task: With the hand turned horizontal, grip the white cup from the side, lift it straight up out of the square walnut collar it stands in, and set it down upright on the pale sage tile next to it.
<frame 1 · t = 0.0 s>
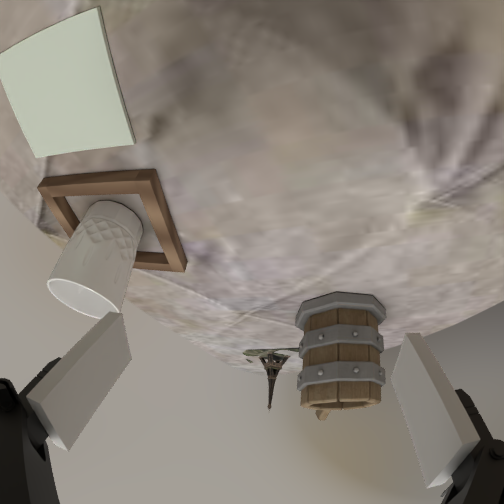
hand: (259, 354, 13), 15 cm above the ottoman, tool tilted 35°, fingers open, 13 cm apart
white cup: (116, 219, 31), resting in walnut collar
walnut collar: (115, 221, 31), on the ottoman
sage tile: (58, 92, 18), on the ottoman
eiffel tower figurine: (274, 352, 63), on the ottoman
tankard: (333, 321, 46), on the ottoman
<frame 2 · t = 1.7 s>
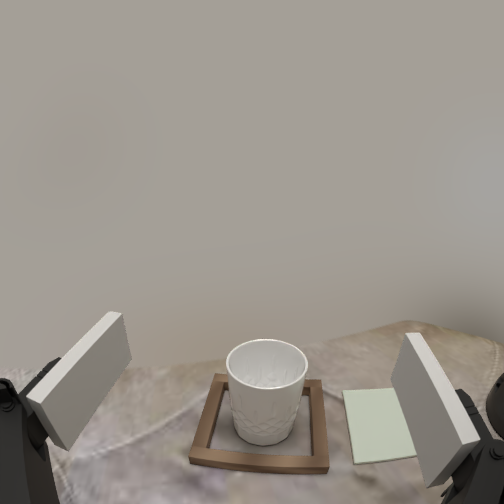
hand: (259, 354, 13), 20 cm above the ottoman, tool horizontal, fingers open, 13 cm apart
white cup: (263, 425, 31), resting in walnut collar
walnut collar: (263, 424, 31), on the ottoman
sage tile: (393, 421, 29), on the ottoman
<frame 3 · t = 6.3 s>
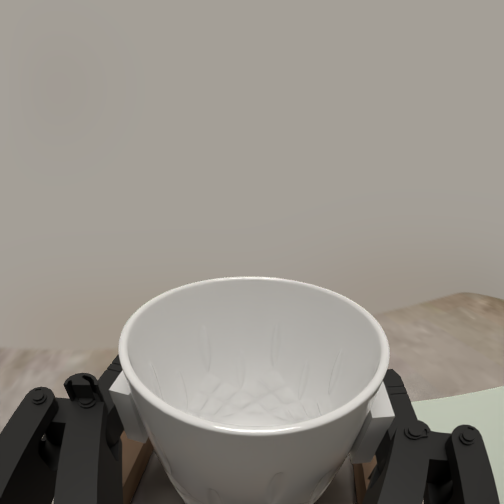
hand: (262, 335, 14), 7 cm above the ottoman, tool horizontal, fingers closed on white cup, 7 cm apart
white cup: (249, 487, 12), resting in walnut collar, touching gripper
walnut collar: (248, 485, 12), on the ottoman
sage tile: (502, 451, 10), on the ottoman
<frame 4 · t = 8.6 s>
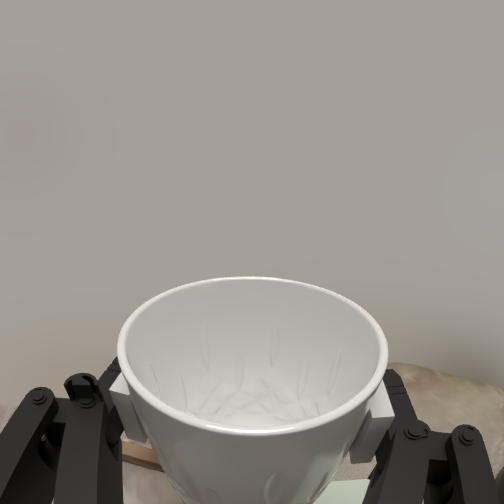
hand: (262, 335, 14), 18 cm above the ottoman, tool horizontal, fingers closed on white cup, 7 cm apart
white cup: (248, 487, 12), point 11 cm above the ottoman, touching gripper
when the fingers open (8 cm above the ottoman, at t = 11.3 s): white cup drops 2 cm, resting on sage tile.
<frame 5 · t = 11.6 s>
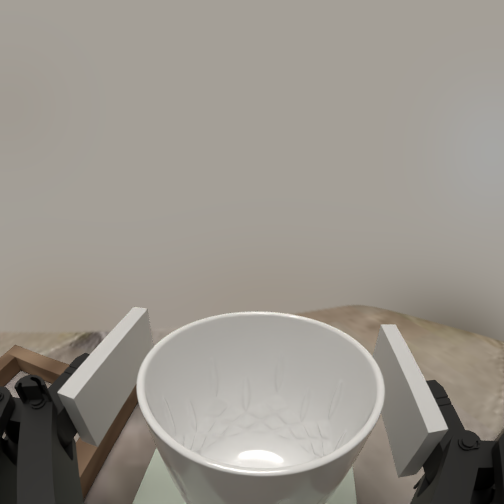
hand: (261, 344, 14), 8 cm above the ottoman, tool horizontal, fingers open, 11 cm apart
white cup: (254, 499, 12), resting on sage tile
walnut collar: (26, 429, 14), on the ottoman
sage tile: (247, 499, 12), on the ottoman
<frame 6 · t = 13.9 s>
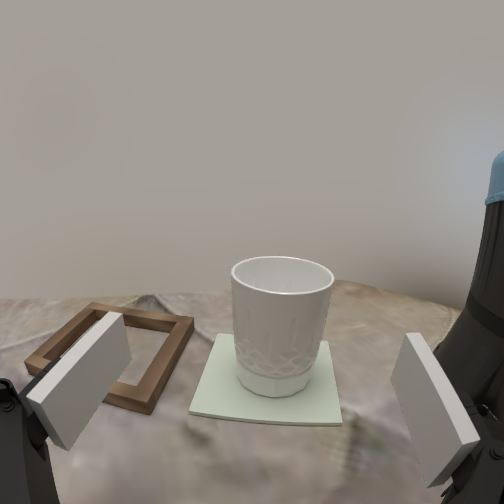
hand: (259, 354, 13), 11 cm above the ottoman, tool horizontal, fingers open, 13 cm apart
white cup: (273, 375, 26), resting on sage tile
walnut collar: (113, 352, 28), on the ottoman
sage tile: (269, 376, 26), on the ottoman
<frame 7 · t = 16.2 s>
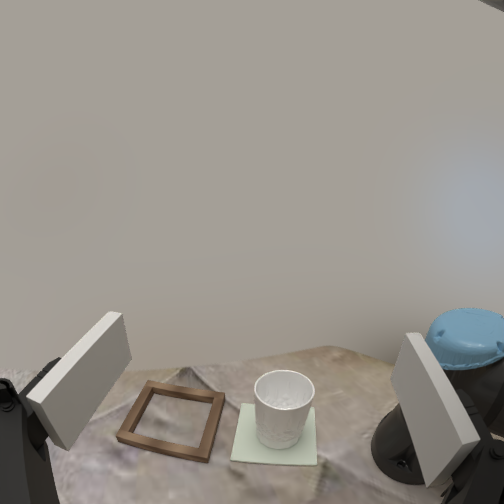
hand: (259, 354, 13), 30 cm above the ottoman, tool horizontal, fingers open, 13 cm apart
white cup: (278, 433, 39), resting on sage tile
walnut collar: (174, 421, 41), on the ottoman
sage tile: (276, 434, 40), on the ottoman
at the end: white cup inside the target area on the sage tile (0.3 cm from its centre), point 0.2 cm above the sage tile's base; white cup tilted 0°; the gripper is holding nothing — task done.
